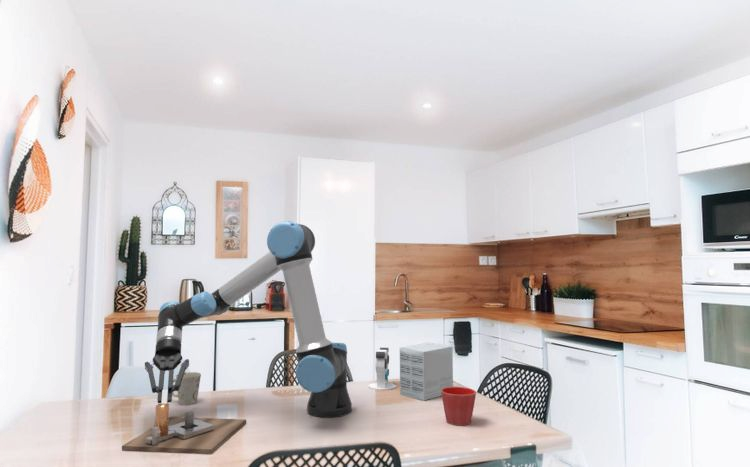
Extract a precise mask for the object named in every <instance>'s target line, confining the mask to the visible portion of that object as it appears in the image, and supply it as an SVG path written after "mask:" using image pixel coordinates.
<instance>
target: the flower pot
mask: <svg viewBox="0 0 750 467" xmlns="http://www.w3.org/2000/svg"><path fill="white" fill-rule="evenodd" d="M441 393H442V396H441V399H442V404H443V410H444V415H445V416H444V417H445V420H446V423H448V424H450V425H455V426H467V425H470V424H471V423H472V418H473V413H474V408H475V403H476V402H475V400H476V395H477V392H476V390H474V389H472V388H468V387H462V386H453V387H447V388H443V389H442V390H441Z"/></svg>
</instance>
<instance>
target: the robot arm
mask: <svg viewBox="0 0 750 467" xmlns="http://www.w3.org/2000/svg"><path fill="white" fill-rule="evenodd" d="M315 245H316V238H315V235H314V233H313V231H312V230H311V228H309V227H308V226H307V225H305V224H300V223H297V222H294V221H293V220H292V221H290V220H289V221H281V222H280V221H279V223H276V224H275V225H274V226H272V228H271V229H270V230H269V232H268V234H267V237H266V246H267V248H268V251H269V252H267V253H266V254H264V255H263V256H262V257H260V258H259V259H257V260H256V261H255V262H254V263H252V264H251V265H249V266H248V267H246V268H245V269H244V270H243V271H241V272H240V273H238V274H236V276H234V277H233V278H231V279H230V280H228V281H227V282H226V283H224V284H223V285H221V286H220V287H219V288H217V289H216V290H214V291H213V292H212V293H211V292H209V291H202V292H199V293H196V294H195V295H193V296H191V297H189V298H187V299H185V300H183V301H182V302H179V301H175V300H173V301H166V302H164V303H163V304H162V305H161V306H160V308H159V312H158V314H157V318H158V320H157V333H156V341H155V351H154V356H153V358H152V360H150V361H145V362H144V369H145V370H146V372H147V373H148V378H149V383H150V388H151V392H152V393H154V394H155V393H156V394H157V404H163V403H167V404H170V403H171V402H172V401H173V396H172V393H174V392H178V390H179V388H180V385H181V382H182V379H183V376H184V373H186V370H187V369H188V368H189V367H190V360H189V359H188V358H186V359H185V358H183V356H182V336H183V327H185V326H188V325H190V324H192V323H193V322H196V321H197V320H200V319H204V318H210V317H212V316H214V317H215V316H220V315H222V314H225V313H226V312H228V310H229V308H230V307H231V306H232V305H234V304H235V303H237V302H238V301H239V300H241V299H242V298H243V297H245V296H247V295H248V294H250V293H251V292H252V291H253V290H255V289H256V288H258V287H260V285H262V284H264V283H265V282H266V281H268V280H269V279H270V278H272V277H273V276H275V275H276V274H278V273H279V272H280V271H282V273H283V277H284V282H285V287H286V290H287V291H286V292H287V295H288V300H289V305H290V310H291V314H292V318H293V322H294V327H295V331H296V332H295V333H296V335H297V342H298V346H297V348H296V350H295V354H296V360H297V365H296V370H295V377H296V381H297V383H298V384H299V385H300V387H301V388H302V389H304V390H305V391H307V392H309V393H310V395H309V398H308V402H307V405H306V412H307V414H309V415H311V416H314V417H318V418H336V417H338V418H339V417H342V416H346V415H348V414H350V413H351V412H352V410H353V407H352V405H353V403H352V400H351V397H350V394H349V391H348V388H347V382H348V381H347V379H348V376H347V373H348V371H347V370H348V366H347V364H348V362H347V360H348V359H347V358H348V350H347V349H348V348H347V344H346V343H344V342H332V341H331V340H330V339H328V338H327V337H326V334H325V329H324V325H323V319H322V316H321V311H320V307H319V303H318V297H317V294H316V290H315V289H316V288H315V283H314V279H313V276H312V271H311V266H310V264H312V263H311V262H312V261H313V254H312V252H313V250H314V248H315ZM179 365H180V368H179V371H178V374H177V375H178V376H177V379H176V382H174V383H173V379H174V374H175V369H176V368H177V367H178V366H179ZM154 366H155V367H156V368H157V369H158V371H159V378H158V385H157V383H156V378H155V374H154V370H153V369H154ZM166 371H168V377H167V378H168V380H167V381H168V382H167V388H166V389H164V385H165V384H164V383H165V374H166Z"/></svg>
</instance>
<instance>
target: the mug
mask: <svg viewBox="0 0 750 467" xmlns="http://www.w3.org/2000/svg"><path fill="white" fill-rule="evenodd" d="M177 376H178V374H176V375H175V378H174V377H173V384H175V382H176V379H177ZM201 376H202V374H201V373H200V372H197V371H191V372H190V371H189V372H188V371H187V372H185V373H184V376H183V379H182V382H181V385H180V388H179V390H178V391H177V394H176V393H174V392H173V393H172V397H174V398H178V404H179V405H182V406H187V405H188V406H190V405H193V404H196V403H197V401H198V397H199V389H200V382H201Z"/></svg>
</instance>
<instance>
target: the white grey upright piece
mask: <svg viewBox="0 0 750 467" xmlns="http://www.w3.org/2000/svg"><path fill="white" fill-rule="evenodd" d="M389 350H390V348H389V347H379V349H378V350H376V352H375V373H376V382H372V383H369V384H368V388H369V389H372V390H375V391H376V390H377V391H390V390H394V389H395V388H397V385H396V384H395V383H392V382H389V375H390V369H389V364H390V354H389Z"/></svg>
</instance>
